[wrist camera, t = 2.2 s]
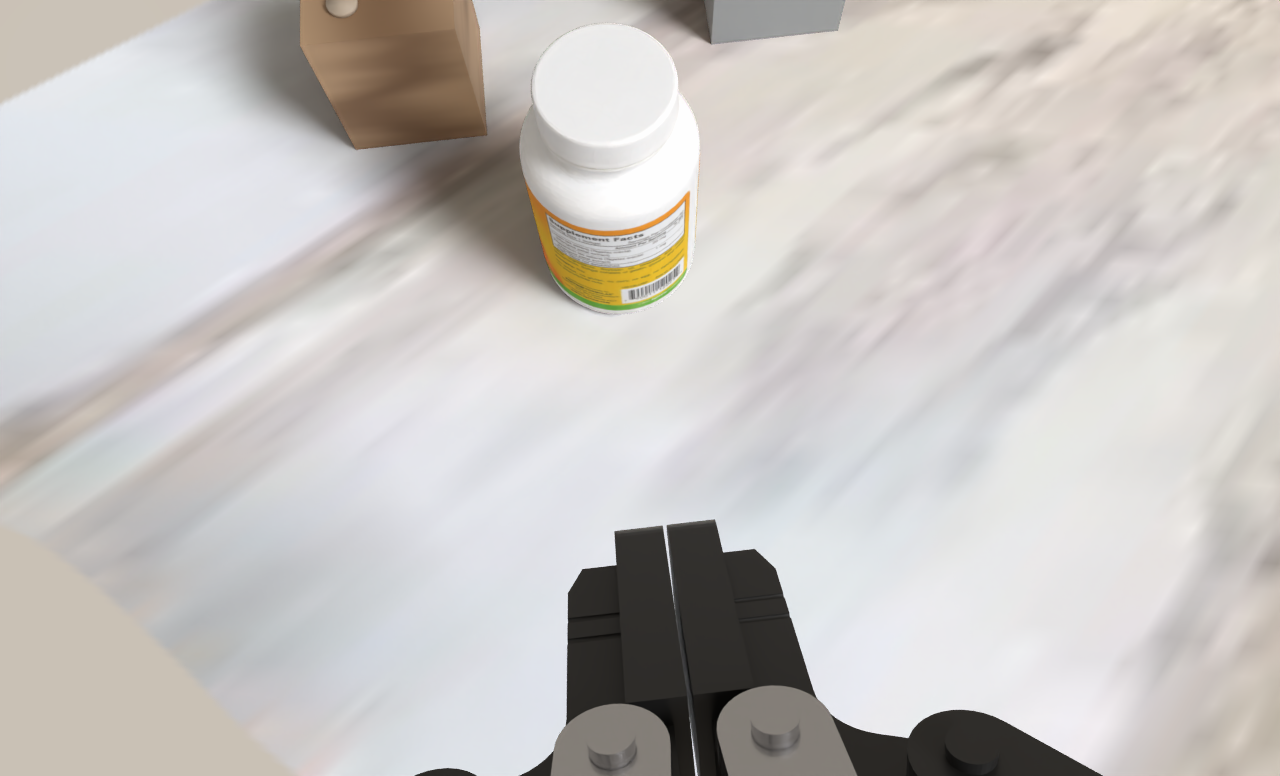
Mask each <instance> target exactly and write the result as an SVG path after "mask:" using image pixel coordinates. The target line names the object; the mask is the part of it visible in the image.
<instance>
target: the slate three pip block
mask: <svg viewBox="0 0 1280 776" xmlns="http://www.w3.org/2000/svg"><path fill="white" fill-rule="evenodd" d="M704 3H705V9H706V15H707V21H708V27H709V33H710V39H711V44H720V43H729V42H738V41H747V40H756V39H766V38H775V37H784V36H793V35H802V34H811V33H820V32H829V31H838V28H839V24H840V20H841V16H842V12H843V8H844V3H845V0H704Z"/></svg>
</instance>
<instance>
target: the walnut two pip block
mask: <svg viewBox="0 0 1280 776" xmlns="http://www.w3.org/2000/svg"><path fill="white" fill-rule="evenodd" d="M300 47H301V49H302V50H303V52H304V54H305V56H306V58H307V60H308V62H309V63H310V65H311V67H312V69H313V71H314V73H315V75H316V77H317V78H318V80H319V82H320V84H321V86H322V88H323V90H324V91H325V93H326V95H327V97H328V99H329V101H330V103H331V104H332V106H333V108H334V110H335V112H336V114H337V116H338V117H339V119H340V121H341V123H342V125H343V127H344V129H345V131H346V132H347V134H348V136H349V138H350V140H351V142H352V144H353V145H354V147H355V149H356V150H358V149H367V148H376V147H385V146H394V145H403V144H412V143H421V142H430V141H439V140H448V139H457V138H466V137H475V136H484V135H487V127H486V113H485V98H484V84H483V70H482V55H481V41H480V28H479V24H478V20H477V17H476V13H475V9H474V5H473V2H472V0H300Z"/></svg>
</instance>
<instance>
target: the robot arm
mask: <svg viewBox="0 0 1280 776" xmlns="http://www.w3.org/2000/svg"><path fill="white" fill-rule="evenodd" d="M667 536H668V546H669V556H670V565H671V575H672V585H673V594H672V587H671V580H670V573H669V566H668V559H667V553H666V546H665V539H664V532H663V526H656V527H647V528H638V529H630V530H621V531H615V548H616V563H617V565H615V566H606V567H598V568H589V569H582V571H581V573H580V574H579V576H578V578H577V579H576V581H575V583H574V584H573V586H572V587H571V589H570V591H569V592H568V646H567V720H566V726H565V727H564V729H563V730H562V731H561V733H560V734H559V736H558V738H557V741H556V743H555V747H554V751H553V752H552V753H551V754H550V755H549V756H548V757H547V758H546V759H545V760H544V761H543V762H542V763H540V764H539V765H538V766H536V767H535V768H533V769H531V770H530V771H528V772H526V773H524V774H522V775H520V776H695V769H694V759H693V749H692V739H691V731H692V738H693V745H694V752H695V759H696V766H697V773H698V776H1102V775H1101V774H1099V773H1097V772H1095V771H1093V770H1092V769H1090V768H1088V767H1086V766H1084V765H1082V764H1081V763H1079V762H1077V761H1075V760H1073V759H1072V758H1070V757H1068V756H1066V755H1064V754H1062V753H1061V752H1059V751H1057V750H1055V749H1053V748H1052V747H1050V746H1048V745H1046V744H1044V743H1043V742H1041V741H1039V740H1037V739H1035V738H1033V737H1032V736H1030V735H1028V734H1026V733H1024V732H1023V731H1021V730H1019V729H1017V728H1015V727H1013V726H1012V725H1010V724H1008V723H1006V722H1004V721H1002V720H1000V719H998V718H996V717H994V716H991V715H988V714H985V713H980V712H976V711H969V710H950V711H944V712H940V713H936V714H933V715H931V716H929V717H927V718H925V719H924V720H922V721H921V722H920V723H918V724H917V726H916V727H915V728H914V729H913V730H912V732H911V734H910V736H909V738H903V737H896V736H889V735H882V734H876V733H871V732H866V731H862V730H859V729H856V728H854V727H851V726H849V725H847V724H845V723H843V722H841V721H840V720H838V719H836V718H835V717H834V716H832V715H831V714H830V713H829V711H828V709H827V708H826V707H825V706H824V705H823V704H822V703H821V702H820V701H819V700H818V699H817V698H816V695H815V693H814V691H813V688H812V684H811V681H810V678H809V675H808V672H807V668H806V665H805V662H804V659H803V656H802V652H801V649H800V646H799V643H798V639H797V636H796V633H795V630H794V627H793V623H792V620H791V618H790V616H789V611H788V607H787V604H786V601H785V598H784V597H783V591H782V588H781V585H780V582H779V578H778V575H777V572H776V569H775V568H774V567H773V566H772V565H771V564H770V563H769V562H768V561H767V560H766V559H765V558H764V557H763V556H762V555H760V554H759V553H758V552H757V551H756V550H755V549H751V550H742V551H734V552H725V553H723V551H722V547H721V542H720V538H719V534H718V529H717V525H716V522H715V520H706V521H697V522H689V523H680V524H671V525H667ZM673 595H674V601H673ZM674 605H675V608H674ZM675 614H676V615H675ZM689 717H690V719H689ZM690 724H691V729H690ZM415 776H476V775H475V774H472V773H470V772H468V771H464V770H460V769H451V768H444V769H435V770H430V771H426V772H423V773H420V774H417V775H415Z"/></svg>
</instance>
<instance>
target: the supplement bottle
mask: <svg viewBox="0 0 1280 776" xmlns="http://www.w3.org/2000/svg"><path fill="white" fill-rule="evenodd" d="M531 97H532V103H533V104H532V106H531V107H530V109H529V111H528V113H527V115H526V117H525V120H524V123H523V126H522V129H521V134H520V141H519V151H520V160H521V165H522V171H523V175H524V179H525V183H526V187H527V191H528V195H529V198H530V202H531V206H532V210H533V214H534V218H535V221H536V225H537V229H538V233H539V237H540V241H541V244H542V248H543V252H544V256H545V259H546V262H547V265H548V268H549V270H550V273H551V275H552V277H553V279H554V280H555V282H556V283H557V285H558V286H559V287H560V288H561V290H562V291H563V292H564V293H565V294H566V295H568V296H569V297H570V298H571V299H572V300H574V301H576V302H577V303H579V304H581V305H582V306H584V307H586V308H589V309H591V310H594V311H597V312H601V313H607V314H629V313H635V312H639V311H643V310H646V309H649V308H651V307H653V306H656V305H657V304H659V303H661V302H662V301H664V300H665V299H667V298H668V297H669V296H670V295H672V294H673V293H674V292H675V291H676V290H677V289H678V287H679V286H680V285H681V284H682V282H683V281H684V279H685V277H686V276H687V274H688V272H689V269H690V267H691V264H692V261H693V256H694V249H695V237H696V218H697V198H698V181H699V165H700V138H699V131H698V126H697V123H696V120H695V117H694V114H693V112H692V110H691V108H690V106H689V104H688V103H687V101H686V99H685V98H684V97H683V96H682V94H681V93H680V92H679V91H678V77H677V71H676V68H675V65H674V62H673V60H672V58H671V56H670V55H669V53H668V52H667V50H666V49H665V48H664V47H663V46H662V44H661V43H659V42H658V41H657V40H656V39H655V38H653V37H652V36H651V35H649V34H647V33H645V32H644V31H642V30H639V29H637V28H634V27H632V26H628V25H624V24H617V23H596V24H591V25H586V26H582V27H579V28H576V29H574V30H572V31H569V32H568V33H566V34H564V35H562V36H561V37H559V38H558V39H556V40H555V41H554V42H553V43H552V44H551V45H550V46H549V47H548V48H547V49H546V50H545V51H544V52H543V54H542V55H541V57H540V59H539V60H538V62H537V64H536V66H535V69H534V72H533V75H532V80H531Z"/></svg>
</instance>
